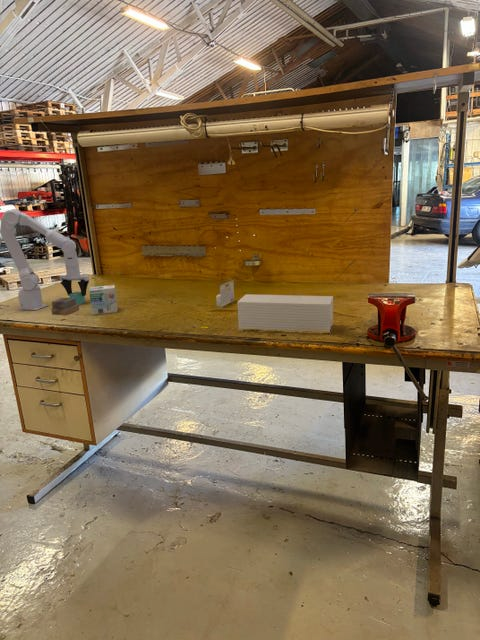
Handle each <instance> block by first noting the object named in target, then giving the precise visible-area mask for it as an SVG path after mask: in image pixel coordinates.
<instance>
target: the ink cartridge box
mask: <svg viewBox="0 0 480 640" xmlns="http://www.w3.org/2000/svg"><path fill="white" fill-rule="evenodd" d="M234 283H235V281H234V279H232V280H230V281H228V282H225V283H222V284H220V285H219V294H217V295H216V296H215V298H216V307H217V308H223V307H226V306H228V305H229V303H230V304H232V303H234V302H235V300H236V299H235V290H234V289H235V288H234V287H235V286H234ZM233 301H234V302H233ZM231 302H232V303H231ZM227 304H228V305H227ZM222 306H223V307H222Z"/></svg>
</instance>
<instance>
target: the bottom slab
mask: <svg viewBox="0 0 480 640" xmlns="http://www.w3.org/2000/svg"><path fill="white" fill-rule="evenodd" d="M50 310H51V315H53V316H55V315H57V316H58V315H61V316H69V315H71V314H73V313H75V312H77V311H80V306H79V305H78V304H76V305H74V306H72V307H70V308H68V309H53V307H52V308H50Z"/></svg>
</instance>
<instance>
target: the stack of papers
mask: <svg viewBox="0 0 480 640" xmlns="http://www.w3.org/2000/svg"><path fill="white" fill-rule="evenodd" d="M236 303H237V320H238V321H237V322H238V330H239V329H260V330H261V329H262V330H287V331H289V330H290V331H291V330H292V331H328V332H330V329H331V326H332V323H333V324H334V296H333V295H330V296H329V295H293V294H291V295H290V294H287V295H286V294H285V295H284V294H282V295H280V294H251V293H250V294H247V293H246V294H244V295H243V296H242V297H241V298H240V299H239V300H238V301H237V302H236ZM332 327H333V326H332ZM331 330H332V329H331ZM330 333H331V332H330Z"/></svg>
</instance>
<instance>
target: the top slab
mask: <svg viewBox="0 0 480 640" xmlns="http://www.w3.org/2000/svg"><path fill="white" fill-rule="evenodd" d="M74 305H76V300H75V298H70V297H59V298H57V299H55V300H52V301H51V307H52V308H53V309H68V308H70V307H72V306H74Z"/></svg>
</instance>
